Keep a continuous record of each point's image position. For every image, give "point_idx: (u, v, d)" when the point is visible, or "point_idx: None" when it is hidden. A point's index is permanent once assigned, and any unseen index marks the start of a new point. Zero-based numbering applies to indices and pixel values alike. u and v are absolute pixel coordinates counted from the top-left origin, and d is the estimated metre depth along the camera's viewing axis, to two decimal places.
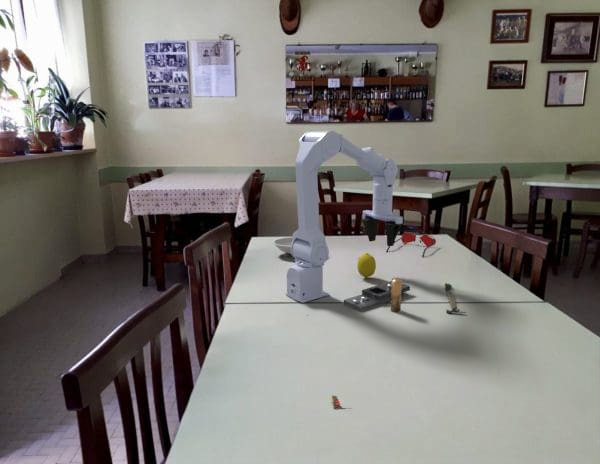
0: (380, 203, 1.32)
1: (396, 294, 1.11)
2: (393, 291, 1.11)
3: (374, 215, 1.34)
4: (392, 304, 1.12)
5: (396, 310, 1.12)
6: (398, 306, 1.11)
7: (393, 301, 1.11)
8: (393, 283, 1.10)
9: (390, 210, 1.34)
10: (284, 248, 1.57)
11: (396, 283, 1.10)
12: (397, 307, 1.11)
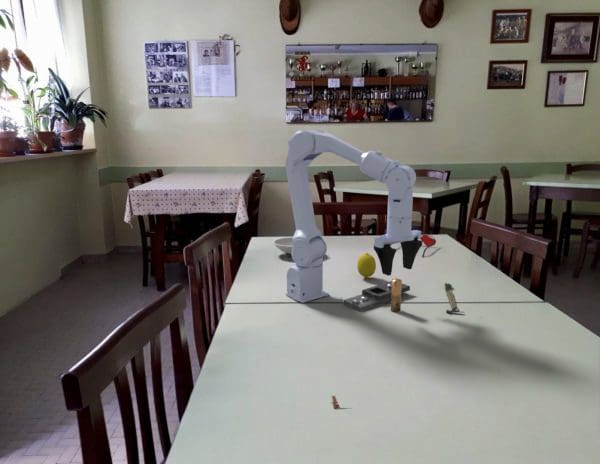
0: None
1: (396, 294, 1.11)
2: (393, 291, 1.11)
3: None
4: (392, 304, 1.12)
5: (396, 310, 1.12)
6: (398, 306, 1.11)
7: (393, 301, 1.11)
8: (393, 283, 1.10)
9: (393, 231, 1.06)
10: (284, 248, 1.57)
11: (396, 283, 1.10)
12: (397, 307, 1.11)
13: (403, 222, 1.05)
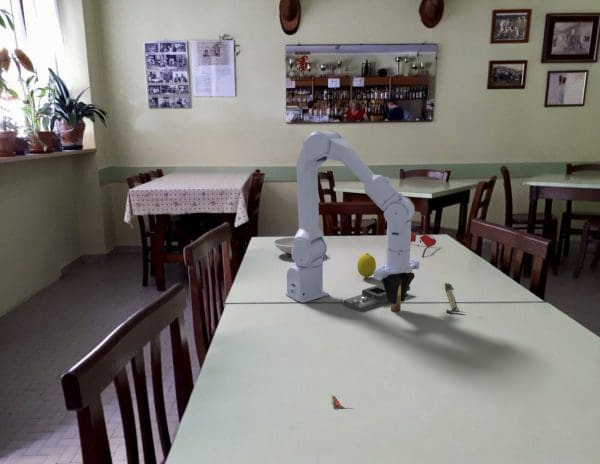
0: None
1: None
2: None
3: None
4: (392, 304, 1.12)
5: (396, 310, 1.12)
6: (398, 306, 1.11)
7: None
8: None
9: (392, 263, 1.08)
10: (284, 248, 1.57)
11: None
12: (397, 307, 1.11)
13: (402, 254, 1.07)
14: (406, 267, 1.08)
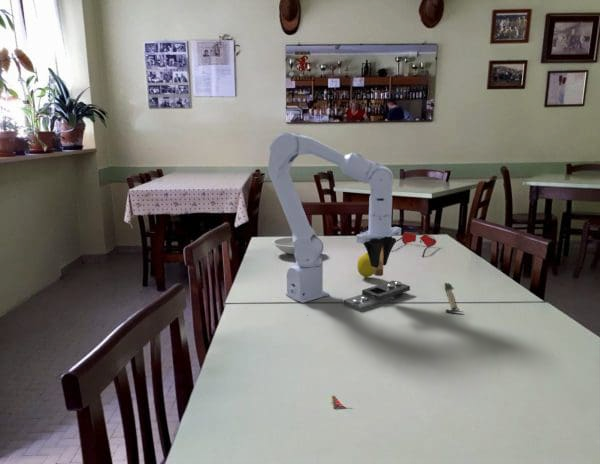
0: None
1: None
2: None
3: None
4: (375, 268, 1.18)
5: (379, 274, 1.17)
6: (380, 270, 1.17)
7: None
8: None
9: (374, 228, 1.14)
10: (284, 248, 1.57)
11: None
12: (379, 271, 1.17)
13: (383, 219, 1.12)
14: (387, 231, 1.14)
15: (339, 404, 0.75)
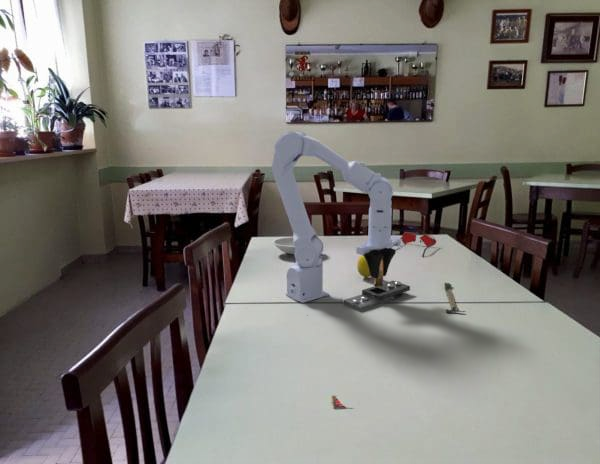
0: None
1: (379, 269, 1.17)
2: None
3: None
4: (375, 279, 1.18)
5: (378, 284, 1.18)
6: (380, 281, 1.18)
7: None
8: None
9: (373, 239, 1.14)
10: (284, 248, 1.57)
11: None
12: (379, 282, 1.18)
13: (383, 231, 1.13)
14: (387, 243, 1.14)
15: (339, 404, 0.75)
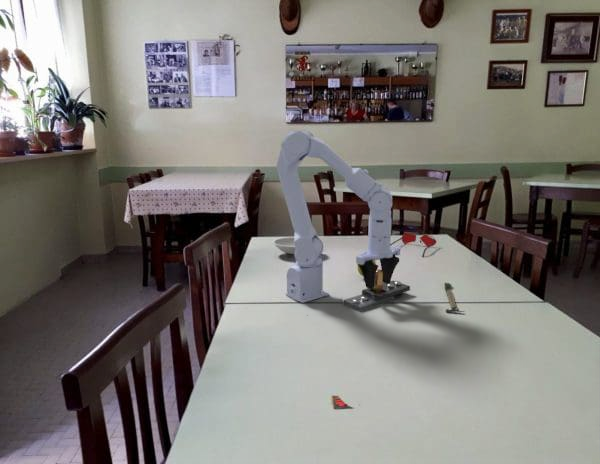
0: None
1: (378, 284, 1.18)
2: (375, 281, 1.18)
3: None
4: None
5: None
6: None
7: (375, 290, 1.19)
8: None
9: (373, 249, 1.15)
10: (284, 248, 1.57)
11: (377, 273, 1.17)
12: None
13: (382, 241, 1.14)
14: (387, 252, 1.15)
15: (339, 404, 0.75)
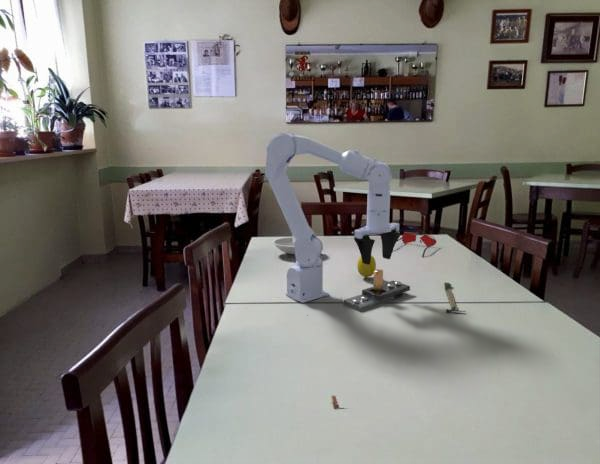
0: None
1: (378, 284, 1.18)
2: (375, 281, 1.18)
3: None
4: None
5: None
6: None
7: (375, 290, 1.19)
8: (375, 273, 1.18)
9: (372, 223, 1.14)
10: (284, 248, 1.57)
11: (377, 273, 1.17)
12: None
13: (381, 215, 1.13)
14: (385, 227, 1.14)
15: (338, 404, 0.75)
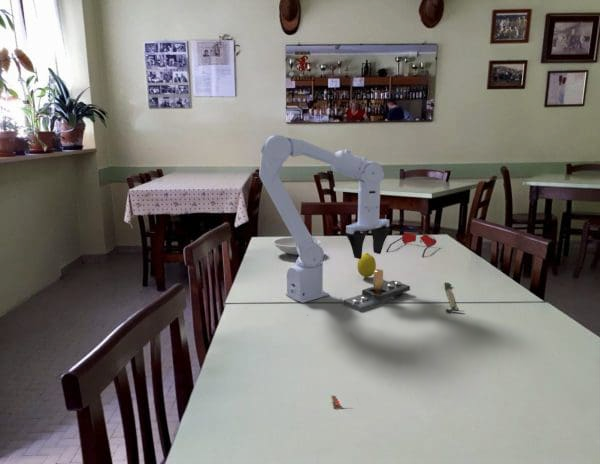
0: None
1: (378, 284, 1.18)
2: (375, 281, 1.18)
3: None
4: None
5: None
6: None
7: (375, 290, 1.19)
8: (375, 273, 1.18)
9: (362, 219, 1.19)
10: (284, 248, 1.57)
11: (377, 273, 1.17)
12: None
13: (371, 211, 1.18)
14: (376, 223, 1.19)
15: (339, 404, 0.75)
